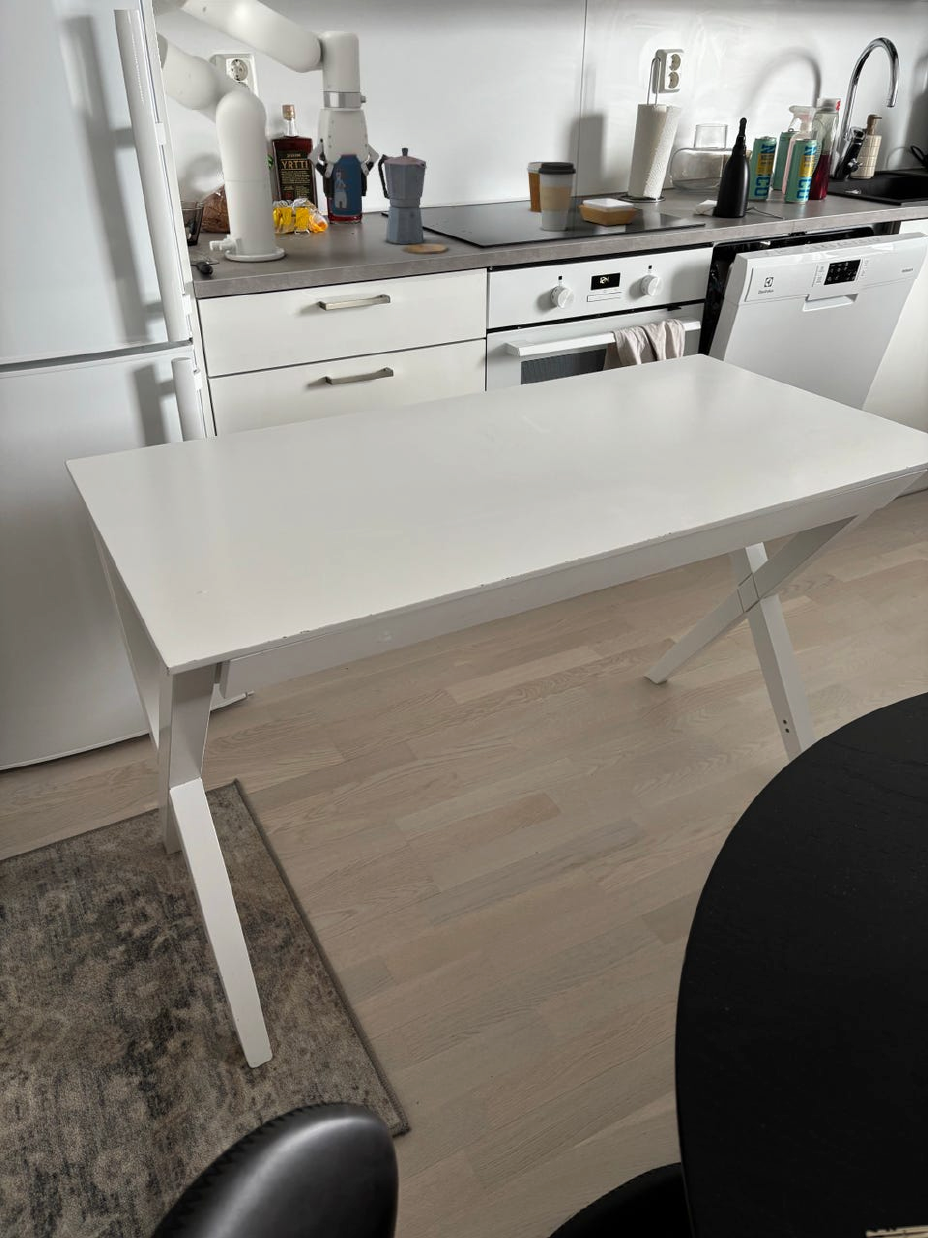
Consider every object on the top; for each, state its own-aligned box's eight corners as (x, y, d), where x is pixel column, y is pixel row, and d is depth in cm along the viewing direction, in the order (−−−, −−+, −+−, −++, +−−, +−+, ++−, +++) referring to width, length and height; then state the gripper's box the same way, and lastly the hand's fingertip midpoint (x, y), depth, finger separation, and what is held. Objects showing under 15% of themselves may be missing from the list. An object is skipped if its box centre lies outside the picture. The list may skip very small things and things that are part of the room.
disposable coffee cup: (526, 207, 267) (528, 160, 260) (559, 208, 266) (562, 161, 259) (523, 212, 259) (525, 164, 252) (558, 213, 258) (560, 165, 251)
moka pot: (415, 247, 213) (412, 150, 203) (365, 240, 221) (360, 146, 211) (441, 241, 220) (440, 147, 209) (391, 234, 228) (388, 143, 217)
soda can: (358, 212, 205) (356, 151, 199) (365, 216, 200) (363, 154, 193) (327, 212, 203) (324, 151, 197) (333, 217, 198) (331, 154, 191)
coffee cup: (527, 228, 235) (530, 163, 227) (551, 224, 241) (554, 160, 233) (557, 233, 230) (560, 166, 222) (580, 228, 236) (584, 163, 228)
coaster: (418, 255, 206) (418, 252, 205) (398, 248, 212) (398, 246, 212) (453, 251, 210) (453, 248, 210) (433, 244, 216) (433, 242, 216)
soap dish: (577, 220, 247) (578, 199, 244) (607, 217, 251) (608, 197, 248) (606, 227, 238) (607, 205, 235) (636, 224, 242) (638, 203, 239)
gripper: (371, 100, 197) (373, 192, 206) (295, 100, 189) (300, 195, 198) (388, 102, 192) (389, 196, 201) (310, 102, 183) (315, 200, 193)
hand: (345, 195), depth 199 cm, fingers closed on soda can, 7 cm apart
